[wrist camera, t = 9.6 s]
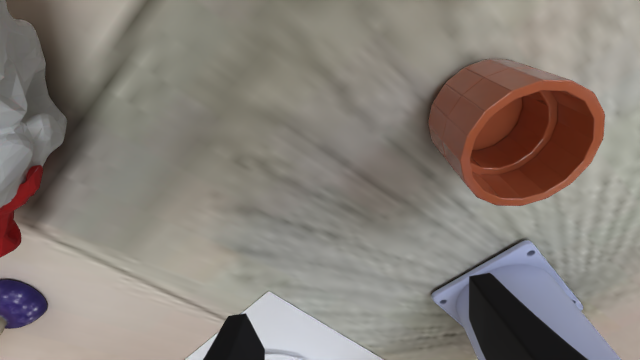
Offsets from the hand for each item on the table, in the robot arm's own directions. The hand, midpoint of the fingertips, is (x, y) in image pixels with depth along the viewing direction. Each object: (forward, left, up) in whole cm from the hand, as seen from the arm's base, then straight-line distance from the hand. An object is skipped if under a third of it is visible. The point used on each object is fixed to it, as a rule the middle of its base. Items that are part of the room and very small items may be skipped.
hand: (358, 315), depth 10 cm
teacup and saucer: (-15, +20, -10) cm, 27 cm away
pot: (-3, -8, -10) cm, 13 cm away
